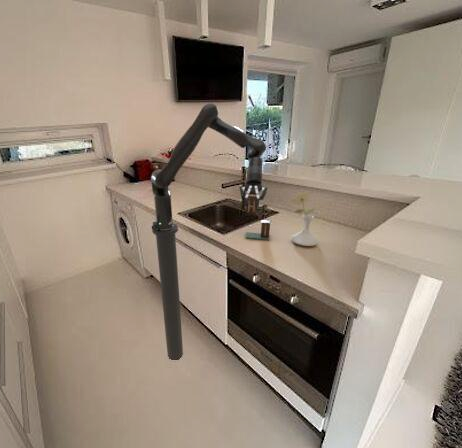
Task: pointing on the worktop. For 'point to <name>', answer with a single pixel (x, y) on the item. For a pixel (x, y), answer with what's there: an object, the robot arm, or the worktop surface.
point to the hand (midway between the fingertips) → (251, 206)
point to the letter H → (251, 205)
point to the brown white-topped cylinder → (265, 228)
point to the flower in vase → (304, 236)
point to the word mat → (255, 236)
